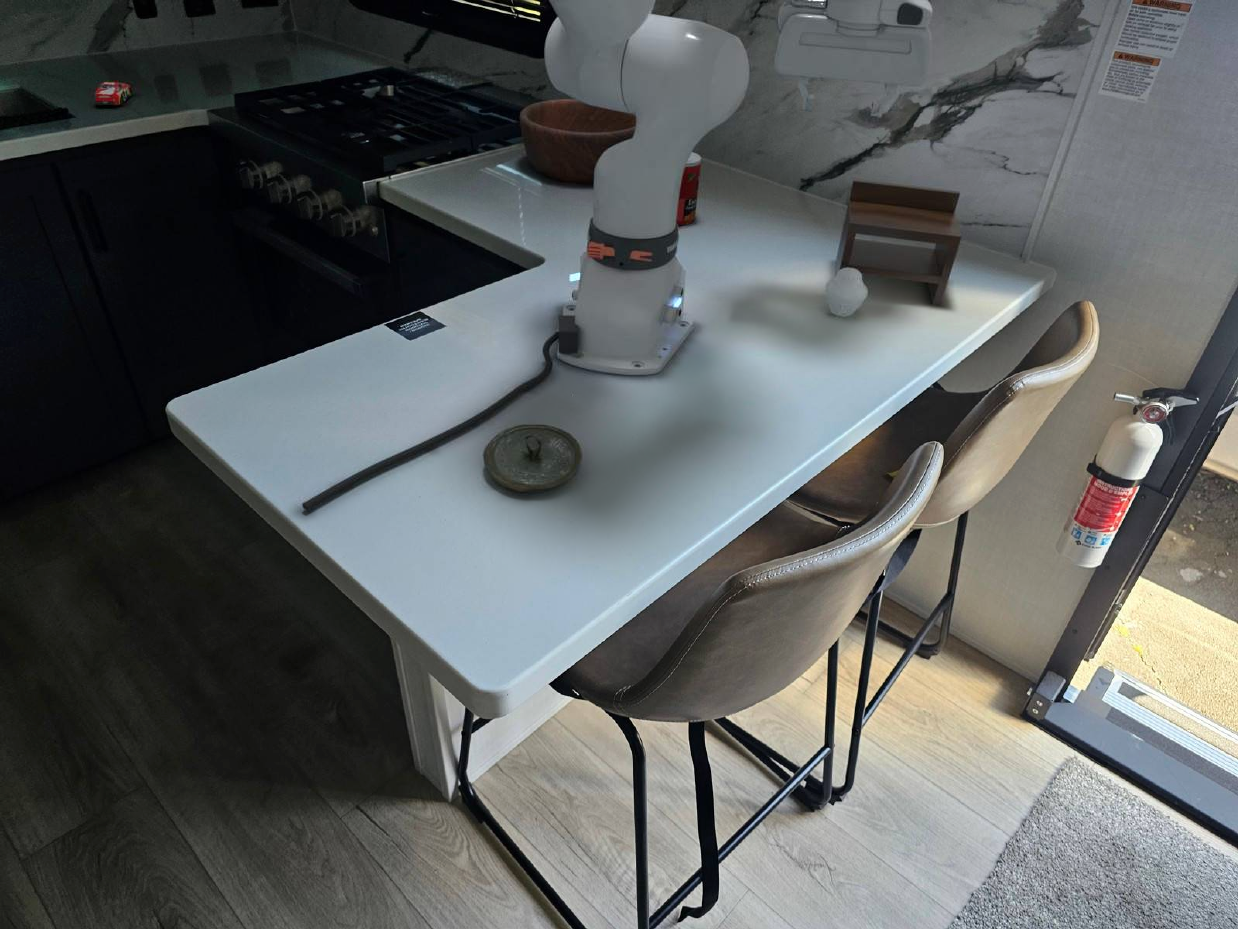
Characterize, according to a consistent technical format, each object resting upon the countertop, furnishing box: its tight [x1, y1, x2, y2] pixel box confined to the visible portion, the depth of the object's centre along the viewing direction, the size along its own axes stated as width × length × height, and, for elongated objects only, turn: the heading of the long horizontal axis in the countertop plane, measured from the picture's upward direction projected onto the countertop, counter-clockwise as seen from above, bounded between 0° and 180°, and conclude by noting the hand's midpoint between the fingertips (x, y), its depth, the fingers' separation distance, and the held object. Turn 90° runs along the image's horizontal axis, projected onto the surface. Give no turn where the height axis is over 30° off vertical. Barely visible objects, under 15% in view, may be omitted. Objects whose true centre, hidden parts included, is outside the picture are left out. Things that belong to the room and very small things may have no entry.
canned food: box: [676, 151, 702, 226], centre depth 150 cm, size 8×8×11 cm
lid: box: [482, 423, 583, 493], centre depth 91 cm, size 11×10×5 cm
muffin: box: [824, 268, 869, 318], centre depth 124 cm, size 6×6×7 cm
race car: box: [94, 81, 133, 106], centre depth 192 cm, size 13×5×4 cm, turn 9°
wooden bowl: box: [519, 98, 636, 184], centre depth 170 cm, size 25×25×10 cm
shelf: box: [834, 178, 963, 306], centre depth 131 cm, size 11×16×14 cm
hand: (840, 112), depth 118 cm, fingers open, 8 cm apart
